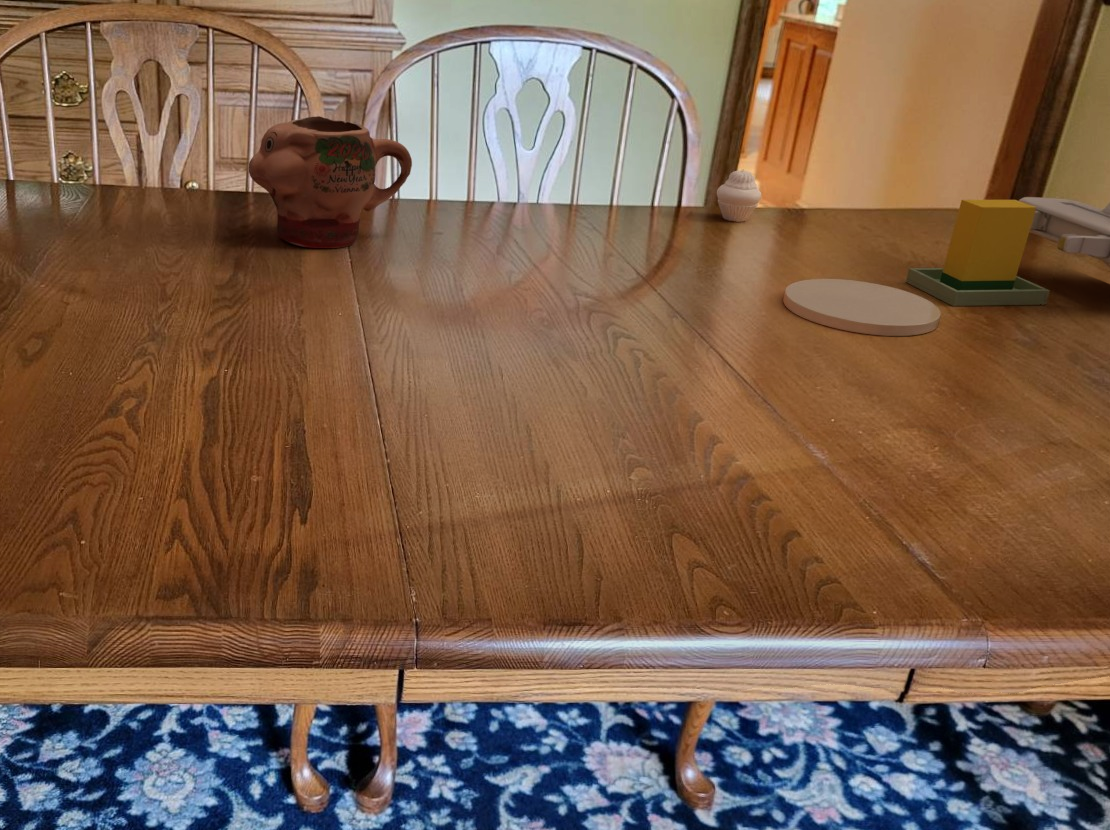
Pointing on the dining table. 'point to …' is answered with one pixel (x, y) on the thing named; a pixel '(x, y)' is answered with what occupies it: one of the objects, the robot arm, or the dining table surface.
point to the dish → (976, 291)
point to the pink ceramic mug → (323, 178)
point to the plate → (861, 307)
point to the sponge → (987, 244)
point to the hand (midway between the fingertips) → (1033, 232)
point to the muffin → (738, 196)
